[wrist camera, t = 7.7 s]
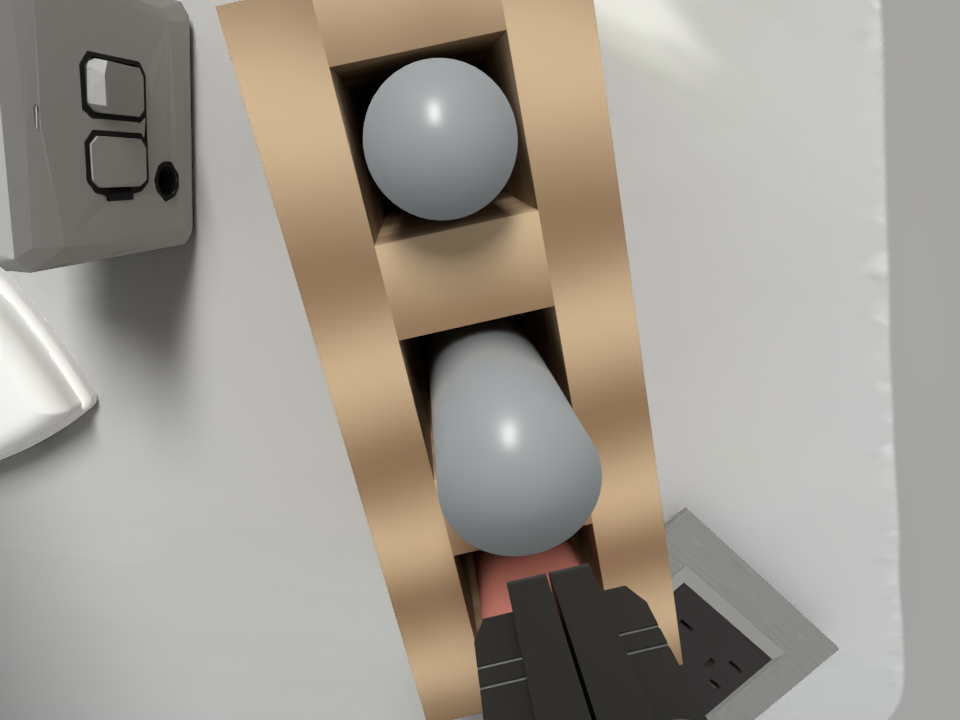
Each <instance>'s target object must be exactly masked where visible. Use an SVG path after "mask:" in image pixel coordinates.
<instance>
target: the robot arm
mask: <svg viewBox="0 0 960 720" xmlns="http://www.w3.org/2000/svg"><path fill="white" fill-rule="evenodd" d="M549 580H550V585H551V588H550V585H549V582H548V579H547V576H546V573H544V574H540V575H535V576H531V577H527V578H522V579H518V580H514V581H509V582H506V584H507V588H508V593H509V598H510V602H511V607H512V612H510V613H505V614H501V615H497V616H492V617H488V618H484V619H483V620H482V623H481V626H480V628H479V631H478V633H477V636H476V638H475V641H474V646H475V654H476V662H477V669H478V678H479V686H480V694H481V702H482V711H483V719H484V720H708V719H707V718H706V716H705V714H704V712H703V710H702V708H701V706H700V704H699V703H698V701H697V699H696V697H695V695H694V693H693V691H692V689H691V687H690V685H689V683H688V681H687V679H686V677H685V675H684V673H683V671H682V670H681V668H680V666H679V664H678V662H677V660H676V658H675V656H674V654H673V652H672V650H671V648H670V647H669V646H668V643H667V640H666V638H665V636H664V635H663V633H662V631H661V629H660V628H659V626H658V623H657V621H656V619H655V617H654V615H653V613H652V611H651V609H650V607H649V605H648V603H647V602H646V601H645V600H644V599H642V598H641V597H640V596H638V595H637V594H636V593H634V592H633V591H632V590H631V589H629V588H628V587H627V586H621V587H616V588H612V589H608V590H603V591H600V589H599V586H598V584H597V581H596V579H595V577H594V574H593V572H592V570H591V567H590V565H589V564H588V563H586V564H582V565H578V566H573V567H569V568H565V569H561V570H556V571H552V572H549ZM551 590H552V592H551Z"/></svg>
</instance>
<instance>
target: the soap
mask: <svg viewBox="0 0 960 720" xmlns="http://www.w3.org/2000/svg"><path fill="white" fill-rule="evenodd" d="M48 351H49V352H48ZM96 402H97V394H96V392H95V390H94V388H93V387H92V385H91V384H90V382H89V380H88V379H87V377H86V376H85V374H84V372H83V371H82V369H81V368H80V366H79V365H78V363H77V362H76V360H75V359H74V357H73V356H72V354H71V353H70V351H69V350H68V349H67V347H66V346H65V344H64V343H63V342H62V340H61V339H60V338H59V336H58V335H57V333H56V332H55V331H54V329H53V328H52V327H51V325H50V324H49V323H48V321H47V320H46V319H45V318H44V316H43V315H42V314H41V312H40V311H39V310H38V309H37V307H36V306H35V305H34V304H33V302H32V301H31V300H30V299H29V298H28V296H27V295H26V294H25V293H24V292H23V290H22V289H21V288H20V287H19V286H18V285H17V283H16V282H15V281H14V280H13V279H12V278H11V277H10V275H9V274H8V273H7V272H6V271H5V270H4V269H2V268H1V267H0V460H1V459H4V458H7V457H9V456H11V455H14V454H16V453H18V452H21V451H23V450H25V449H27V448H29V447H31V446H33V445H35V444H37V443H39V442H41V441H43V440H44V439H46V438H48V437H50V436H52V435H53V434H55V433H56V432H58V431H60V430H61V429H63V428H64V427H66V426H67V425H69V424H70V423H72V422H73V421H75V420H76V419H77V418H79V417H80V416H81V415H83V414H84V413H85V412H87V411H88V410H89V409H90V408H92V407H93V406H94V405H95V404H96Z"/></svg>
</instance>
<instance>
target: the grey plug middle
mask: <svg viewBox="0 0 960 720" xmlns="http://www.w3.org/2000/svg"><path fill="white" fill-rule="evenodd" d="M428 372H429V385H430V399H431V412H432V425H433V439H434V452H435V465H436V479H437V492H438V499H439V504H440V507H441V510H442V513H443V514H444V516H445V518H446V520H447V522H448V523H449V525H450V526H451V528H452V529H453V530H454V531H455V532H456V533H457V534H458V535H459V536H460V537H461V538H462V539H464V540H465V541H466V542H467V543H469V544H471V545H472V546H474V547H476V548H478V549H480V550H483V551H485V552H489V553H492V554H496V555H502V556H526V555H532V554H537V553H540V552H544V551H546V550H549V549H551V548H554V547H556V546H557V545H559V544H561V543H563V542H564V541H566V540H567V539H569V538H570V537H571V536H573V535H574V534H575V533H576V532H577V531H578V530H579V529H580V528H581V527H582V526H583V525H584V524H585V522H586V521H587V520H588V518H589V517H590V515H591V514H592V512H593V510H594V508H595V506H596V504H597V501H598V498H599V495H600V491H601V486H602V468H601V462H600V458H599V455H598V452H597V450H596V447H595V446H594V444H593V442H592V441H591V439H590V437H589V436H588V434H587V432H586V431H585V429H584V427H583V426H582V424H581V422H580V421H579V419H578V417H577V416H576V414H575V412H574V411H573V409H572V407H571V406H570V404H569V402H568V401H567V399H566V397H565V396H564V394H563V392H562V391H561V389H560V387H559V386H558V384H557V382H556V381H555V379H554V377H553V376H552V374H551V372H550V371H549V369H548V368H547V366H546V364H545V363H544V361H543V359H542V358H541V356H540V354H539V353H538V351H537V349H536V348H535V346H534V344H533V343H532V341H531V339H530V338H529V336H528V334H527V333H526V331H525V329H524V328H523V327H522V326H521V324H520V323H519V322H518V321H517V320H516V319H514V318H513V317H512V316H507V317H502V318H498V319H493V320H489V321H484V322H480V323H475V324H471V325H467V326H462V327H458V328H453V329H449V330H444V331H440V332H436V333H435V334H434V336H433V338H432V341H431V343H430V346H429V350H428Z"/></svg>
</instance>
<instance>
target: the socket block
mask: <svg viewBox="0 0 960 720" xmlns="http://www.w3.org/2000/svg"><path fill="white" fill-rule="evenodd" d="M216 10H217V13H218V16H219V20H220V23H221V27H222V30H223V33H224V37H225V40H226V44H227V47H228V50H229V54H230V57H231V60H232V64H233V67H234V71H235V74H236V77H237V81H238V84H239V88H240V91H241V94H242V98H243V101H244V104H245V108H246V111H247V115H248V118H249V121H250V125H251V128H252V132H253V135H254V138H255V142H256V145H257V148H258V152H259V155H260V159H261V162H262V165H263V169H264V172H265V176H266V179H267V182H268V186H269V189H270V192H271V196H272V199H273V203H274V206H275V209H276V213H277V216H278V219H279V223H280V226H281V230H282V233H283V236H284V240H285V243H286V247H287V250H288V253H289V257H290V260H291V263H292V267H293V270H294V274H295V277H296V280H297V284H298V287H299V291H300V294H301V297H302V301H303V304H304V307H305V311H306V314H307V318H308V321H309V324H310V328H311V331H312V335H313V338H314V341H315V345H316V348H317V351H318V355H319V358H320V362H321V365H322V368H323V372H324V375H325V379H326V382H327V385H328V389H329V392H330V395H331V399H332V402H333V406H334V409H335V412H336V416H337V419H338V423H339V426H340V429H341V433H342V436H343V439H344V443H345V446H346V450H347V453H348V456H349V460H350V463H351V467H352V470H353V473H354V477H355V480H356V483H357V487H358V490H359V494H360V497H361V500H362V504H363V507H364V511H365V514H366V517H367V521H368V524H369V527H370V531H371V534H372V538H373V541H374V544H375V548H376V551H377V554H378V558H379V561H380V565H381V568H382V571H383V575H384V578H385V582H386V585H387V588H388V592H389V595H390V598H391V602H392V605H393V609H394V612H395V615H396V619H397V622H398V626H399V629H400V632H401V636H402V639H403V642H404V646H405V649H406V653H407V656H408V659H409V663H410V666H411V670H412V673H413V676H414V680H415V683H416V686H417V690H418V693H419V697H420V700H421V703H422V707H423V710H424V714H425V717H426V720H453V719H457V718H461V717H465V716H469V715H474V714H478V713H482V712H483V711H482V702H481V694H480V686H479V678H478V669H477V662H476V654H475V646H474V641H475V638H476V636H477V633H478V631H479V628H480V626H481V623H482V620H483V618H482V612H481V605H480V598H479V592H478V585H477V578H476V571H475V565H474V558H473V551H477V550H480V549H478V548H476V547H474V546H472V545H471V544H469V543H467V542H466V541H465V540H464V539H462V538H461V537H460V536H459V535H458V534H457V533H456V532H455V531H454V530H453V529H452V528H451V526H450V525H449V523H448V522H447V520H446V518H445V516H444V514H443V513H442V510H441V507H440V504H439V499H438V492H437V479H436V465H435V452H434V439H433V425H432V412H431V399H430V385H429V381H427V378H426V374H425V370H424V366H423V361H422V357H421V353H420V349H419V345H418V341H417V336H422V335H426V334H431V333H435V332H440V331H444V330H449V329H453V328H458V327H462V326H467V325H471V324H475V323H480V322H484V321H489V320H493V319H498V318H502V317H507V316H511V315H516V314H520V313H522V317H523V322H524V328H525V331H526V333H527V334H528V336H529V338H530V339H531V341H532V343H533V344H534V346H535V348H536V349H537V351H538V353H539V354H540V356H541V358H542V359H543V361H544V363H545V364H546V366H547V368H548V369H549V371H550V372H551V374H552V376H553V377H554V379H555V381H556V382H557V384H558V386H559V387H560V389H561V391H562V392H563V394H564V396H565V397H566V399H567V401H568V402H569V404H570V406H571V407H572V409H573V411H574V412H575V414H576V416H577V417H578V419H579V421H580V422H581V424H582V426H583V427H584V429H585V431H586V432H587V434H588V436H589V437H590V439H591V441H592V442H593V444H594V446H595V447H596V450H597V452H598V455H599V458H600V462H601V468H602V486H601V491H600V495H599V498H598V501H597V504H596V506H595V508H594V510H593V512H592V514H591V515H590V517H589V518H588V520H587V521H586V522H585V524H584V525H583V526H582V527H581V528H580V529H579V530H578V531H577V532H576V533H575V534H574V535H573V536H571V539H572V541H573V544H574V546H575V549H576V551H577V554H578V556H579V559H580V561H581V564H586V563H588V564H589V565H590V567H591V570H592V572H593V574H594V577H595V579H596V581H597V584H598V586H599V589H600V591H603V590H608V589H612V588H616V587H621V586H627V587H628V588H629V589H631V590H632V591H633V592H634V593H636V594H637V595H638V596H640V597H641V598H642V599H644V600H645V601H646V602H647V603H648V605H649V607H650V609H651V611H652V613H653V615H654V617H655V619H656V621H657V623H658V626H659V628H660V629H661V631H662V633H663V635H664V636H665V638H666V640H667V643H668V646H669V647H670V648H671V650H672V652H673V654H674V656H675V658H676V660H677V662H678V664H679V665H682V664H683V661H682V653H681V646H680V639H679V631H678V624H677V616H676V609H675V602H674V594H673V587H672V579H671V572H670V565H669V557H668V550H667V542H666V535H665V527H664V520H663V513H662V505H661V498H660V490H659V483H658V476H657V468H656V461H655V453H654V446H653V439H652V431H651V424H650V416H649V409H648V402H647V394H646V387H645V379H644V372H643V365H642V357H641V350H640V342H639V335H638V328H637V320H636V313H635V305H634V298H633V291H632V283H631V276H630V268H629V261H628V254H627V246H626V239H625V231H624V224H623V216H622V209H621V202H620V194H619V187H618V179H617V172H616V165H615V157H614V150H613V142H612V135H611V128H610V120H609V113H608V105H607V98H606V91H605V83H604V76H603V68H602V61H601V54H600V46H599V39H598V31H597V24H596V17H595V9H594V2H593V0H244V1H239V2H234V3H230V4H225V5H220V6H216ZM430 58H448V59H455V60H458V61H462V62H465V63H467V64H469V65H472V66H474V67H476V68H477V69H479V70H480V71H482V72H484V73H485V74H486V75H487V76H488V77H490V78H491V79H492V80H493V81H494V82H495V83H496V84H497V85H498V87H499V88H500V89H501V91H502V92H503V93H504V95H505V96H506V98H507V100H508V102H509V104H510V106H511V109H512V111H513V114H514V117H515V121H516V125H517V134H518V148H517V155H516V160H515V164H514V167H513V170H512V172H511V175H510V177H509V179H508V181H507V183H506V184H505V186H504V187H503V189H502V190H501V191H500V193H499V194H498V195H497V196H496V197H495V198H494V199H493V200H492V201H491V202H490V203H489V204H487V205H486V206H485V207H483V208H482V209H480V210H479V211H477V212H475V213H473V214H470V215H468V216H465V217H462V218H459V219H453V220H430V219H425V218H421V217H418V216H415V215H413V214H410V213H408V212H406V211H405V210H403V209H401V210H397V211H392V212H388V213H386V210H385V206H384V202H383V198H382V194H381V190H380V188H379V187H378V186H377V184H376V182H375V181H374V179H373V177H372V175H371V173H370V171H369V169H368V165H367V162H366V159H365V154H364V149H363V127H364V120H363V116H362V112H361V108H360V104H359V100H358V96H357V92H360V91H365V90H369V89H374V88H379V87H380V86H381V85H382V84H383V83H384V82H385V81H386V80H387V79H388V78H389V77H390V76H391V75H392V74H394V73H395V72H396V71H398V70H399V69H401V68H403V67H404V66H406V65H409V64H411V63H413V62H416V61H420V60H423V59H430Z"/></svg>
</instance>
